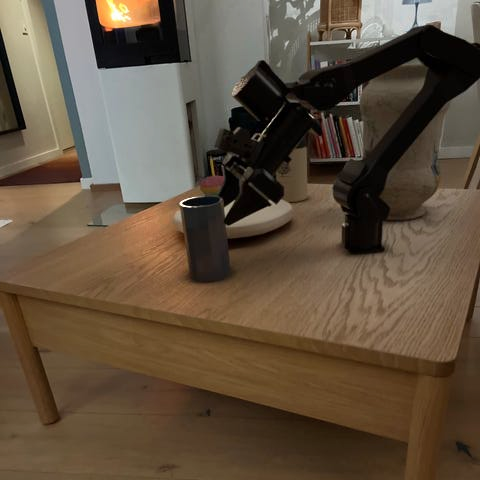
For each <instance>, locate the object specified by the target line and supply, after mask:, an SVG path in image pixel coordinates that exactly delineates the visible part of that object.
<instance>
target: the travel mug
mask: <svg viewBox="0 0 480 480" xmlns="http://www.w3.org/2000/svg"><path fill="white" fill-rule="evenodd" d="M307 143H308V142H307V137H306V136H305V137H304V138H303V139H302V140H301V142H300V143H299V144H298V146H297V147H296V148H295V149H294V151H293V152H292V153H291V154H290V156H289V157H290V158H291V159H292V160H291V161H290V162H289V164H286V163H283V165H282V166H281V167H280V168H279V170H278V171H277V172H276V174H275V176H276V177H275V179H276V180H277V181H278V182H279V183H280V184H281V185H283V186H284V196H283V198H282V199H281V200H284V201H286V202H288V203H298V202H302V201H305V200H306V199H307V198H308V154H307V153H308V152H307V151H308V149H307V148H308V147H307V146H308V145H307Z"/></svg>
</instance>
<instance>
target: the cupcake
mask: <svg viewBox="0 0 480 480" xmlns="http://www.w3.org/2000/svg"><path fill="white" fill-rule="evenodd" d="M209 162H210V169H211V175H209V176H206V177H204V179H202V181H201V182H200V183H199V190H200V191H201V193H202V194H203V196H217V195H218V193H219V190H220V188H221V186H222V183H223V180H224V177H223V175H215V168H214V167H215V166H214V160H213V158H212V155H210V157H209Z"/></svg>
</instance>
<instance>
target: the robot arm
mask: <svg viewBox="0 0 480 480" xmlns="http://www.w3.org/2000/svg"><path fill="white" fill-rule="evenodd" d="M415 59H416V60H417V61H419V63H422V64H423V65H424V66H425V67H427V68H429V69H428V71H427V73H426V77H425V81H424V85H423V87H422V89H421V90H420V92H419V93H418V94H417V95H416V97H415V98H414V99H413V100H412V101H411V103H410V104H409V105H408V106H407V108H406V109H405V110H404V111H403V113H402V114H401V115H400V116H399V118H398V119H397V120H396V121H395V123H394V124H393V125H392V126H391V127H390V129H389V130H388V131H387V132H386V134H385V135H384V136H383V137H382V139H381V140H380V141H379V142H378V144H377V145H376V146H375V147H374V148H373V150H372V151H371V152H370V153H369V155H368V156H367V157H366V158H364V159H362V158H361V160H356V159H353V158H349V159H348V161H347V162H346V163H345V165H344V167H343V169H342V170H340V172H339V173H338V174H336V175H335V176H334V178H335V179H336V180H335V181H334V183H333V184H332V188H331V189H332V197H333V200H334V201H335V202H336V203H337V204H339V206H340V209H341V211H342V212H343V213H345V215H344V222H342V223H341V245H342V246H343V248H344V249H345V250H346V251H347V252H348V254H349V255H358V254H367V253H378V252H384V251H385V250H386V248H385V247H384V246H383V245H382V243H383V227H384V221H385V220H386V219H387V217H388V214H389V211H390V207H389V206H388V205H387V204H386V203H385V202H384V201H383V200H382V199H381V198H380V195H381V194H382V192H383V190H384V188H385V184H386V180H387V177H388V174H389V172H390V170H391V169H392V168H393V167H394V166H395V164H396V163H397V162H398V161H399V160H400V158H401V157H402V156H403V155H404V154H405V152H406V151H407V150H408V149H409V147H410V146H411V145H412V144H413V143H414V141H415V140H416V139H417V138H418V137H419V135H420V134H421V133H422V132H423V131H424V129H425V128H426V127H427V126H428V124H429V123H430V122H431V121H432V120H433V118H434V117H435V116H436V115H437V114H438V112H439V111H440V110H441V109H442V108H443V106H444V105H445V104H446V103H447V102H449V101H450V100H452V101H453V100H454V99H456V98H457V97H458V96H461V95H462V94H464V93H465V92H466V91H468V90H469V89H470V88H471V87H472V86H473V85H474V84H475V83H476V82H478V81H479V80H480V43H479V42H469V41H468V40H466V39H464V38H461V37H459V36H456V35H454V34H450V33H448V32H445V31H443V30H442V29H440V28H438V27H437V26H435V25H434V24H424V25H419V26H415V27H414V26H413V27H412V28H410V29H409V30H408V31H406V32H405V33H403V34H401V35H398V36H397V37H394V38H392V39H390V40H388V41H386V42H384V43H382V44H380V45H378V46H376V47H374V48H372V49H369V50H368V51H365V52H364V53H361V54H359V55H357V56H356V57H353V58H351V59H349V60H347V61H344V62H339V63H335V64H331V65H325V66H322V67H319V68H314V69H310V70H307V71H305V72H304V73H302V74H301V75H300V77H298V79H297V80H296V81H292V82H284V81H283V80H282V79H281V78H280V77H279V76H278V75H277V74H276V73H275V72H274V71H273V69H272V67H271V66H270V64H269V63H267V62H266V60H265V59H260V60H258V61H257V62H256V64H255V65H254V66H253V67H251V68H250V69H249V71H248V72H247V73H246V74H245V75H244V76H242V77H241V78H240V79H239V80H238V82H237V83H236V85H235V86H234V88H233V90H232V92H231V97H232V98H233V99H234V100H235V101H237V102H238V104H239V105H240V106H242V108H244V109H245V110H246V111H247V112H248V113H249V114H250V115H251V116H252V117H253V118H254V119H256V120H257V121H258V122H260V121H262V120H264V119H265V120H266V121H270V120H271V121H270V123H269V124H268V125H267V126H266V128H265V129H264V130H263V131H262V133H260V132H257V133H254V134H253V136H252V137H251V135H250V134H251V133H250V130H248V129H245V128H243V127H240V126H238V127H236V128H235V130H233V131H232V130H229V129H227V128H224V127H222V126H220V127H219V130H218V133H217V137H216V140H215V142H214V148H217V149H218V150H220V151H222V152H225V153H227V154H226V155H225V157H224V158H223V159H222V161H221V163H222V164H223V165H221V171H222V176H223V177H224V180H223V183H222V186H221V188H220V190H219V193H218V195H217V196H218V197H221V198H223V202H224V207H226V206H227V205H229V204H230V203H232V202H233V201H234V200H235V202H234V203H233V205H232V207H231V208H230V210H229V212H228V213H227V215H226V217H225V219H224V221H223V222H224V223H225V224H226V225H227V226H230V225H232V224H234V223H235V222H237V221H239V220H241V219H243V218H245V217H247V216H249V215H251V214H253V213H255V212H257V211H259V210H261V209H264V208H266V207H268V206H269V207H270V206H271V205H272V204H271V203H269V202H268V201H269V200H271V201H272V202H273V203H275V204H276V205H277V204H278V203H279V201H280V200H281V199H282V198H283V196H284V186H283V185H281V184H280V183H279V182H278V181H277V179H276V177H274V176H276V172H277V171H278V170H279V168H280V167H281V166H282V165H283V163H286V164H289V162H290V161H291V160H292V159H291V158H290V157H289V156H290V154H291V153H292V152H293V151H294V149H295V148H296V147H297V146H298V144H299V143H300V142H301V140H302V139H303V138H304V137H305V138H306V136H307V134H308V133H309V134H310V135H313V136H316V137H322V136H323V127H322V123H323V118H321V117H317V116H316V117H313V116H312V115H311V114H310V113H309V111H307V110H312V111H321V112H325V111H329V110H330V111H331V110H332V109H333V108H335V107H337V105H339V104H340V103H342V102H343V101H344V100H346V99H347V98H348V97H349V96H351V95H352V94H353V93H354V91H355V90H356V89H358V88H359V87H360V86H362V85H363V84H366V83H368V82H369V81H370V82H371V81H372V80H373V79H374V78H376V77H378V76H380V75H382V74H384V73H386V72H388V71H390V70H392V69H394V68H396V67H399V66H401V65H403V64H408V63H409V62H411V61H413V60H415ZM290 100H292V101H297V102H298V104H299V105H300V106H298V107H296V106H295V105H294V104H292V102H290ZM306 109H307V110H306ZM386 221H387V220H386Z"/></svg>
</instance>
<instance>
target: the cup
mask: <svg viewBox="0 0 480 480" xmlns="http://www.w3.org/2000/svg"><path fill="white" fill-rule="evenodd" d="M179 210H180V211H181V218H182V225H183V232H184V233H183V236H184V237H183V238H184V245H185V251H186V258H187V265H188V266H187V267H188V272H189V277H190V280H192V281H194V282H199V283H214V282H218V281H221V280H224V279H226V278H228V277H229V276H230V275H231V263H230V252H229V244H228V238H227V232H226V224H225V223H224V222H223V221H224V219H225V212H224V202H223V198H221V197H218V196H205V195H200V196H194V197H190V198H186V199H184V200H182V201H180V202H179Z"/></svg>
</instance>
